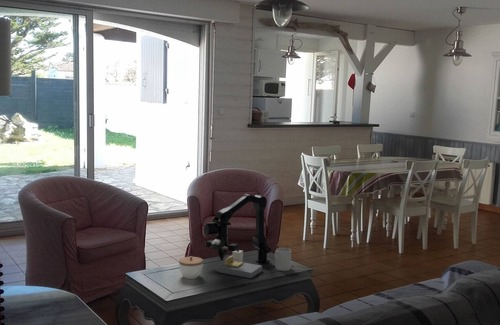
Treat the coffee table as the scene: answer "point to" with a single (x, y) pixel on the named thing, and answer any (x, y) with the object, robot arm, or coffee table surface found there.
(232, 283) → the coffee table surface
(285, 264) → the mug
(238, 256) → the plug
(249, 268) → the socket block
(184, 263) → the lidded bowl
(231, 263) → the tan piece
